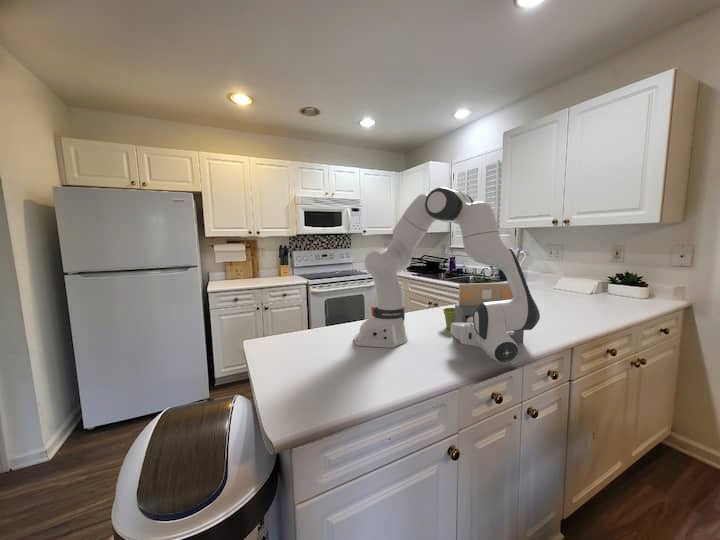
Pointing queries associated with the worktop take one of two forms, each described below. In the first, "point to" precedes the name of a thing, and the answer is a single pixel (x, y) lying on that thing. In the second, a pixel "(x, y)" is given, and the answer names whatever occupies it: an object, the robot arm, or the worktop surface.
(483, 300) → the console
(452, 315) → the plant pot
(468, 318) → the left button
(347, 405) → the worktop surface
